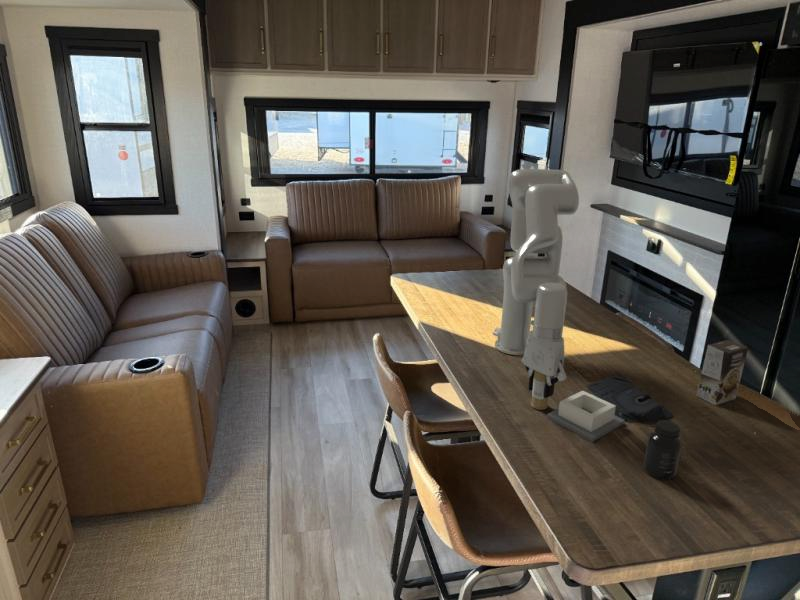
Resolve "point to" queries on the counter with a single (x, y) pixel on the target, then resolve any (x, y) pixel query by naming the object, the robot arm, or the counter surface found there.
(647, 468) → the supplement bottle
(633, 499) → the counter surface
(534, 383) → the sprinkles bottle
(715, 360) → the coffee box
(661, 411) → the dark slate chunk
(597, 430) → the bottle holder
